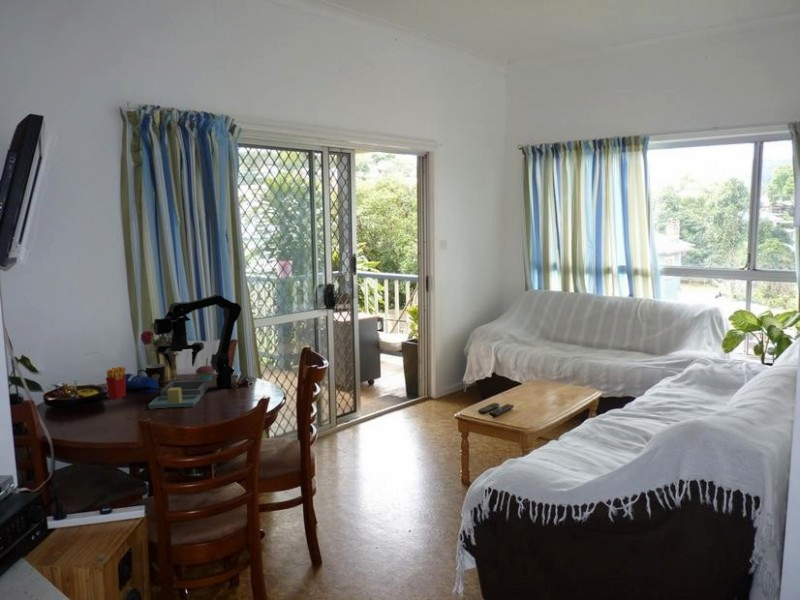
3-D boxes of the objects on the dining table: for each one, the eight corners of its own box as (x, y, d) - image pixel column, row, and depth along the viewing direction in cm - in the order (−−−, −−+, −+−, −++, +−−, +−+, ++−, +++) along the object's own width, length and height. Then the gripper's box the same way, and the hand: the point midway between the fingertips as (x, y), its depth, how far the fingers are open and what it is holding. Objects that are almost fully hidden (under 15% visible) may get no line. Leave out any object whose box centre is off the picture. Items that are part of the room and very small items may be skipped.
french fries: (112, 400, 274) (110, 370, 272) (105, 399, 276) (103, 370, 274) (129, 394, 282) (127, 366, 281) (122, 393, 284) (120, 365, 282)
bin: (209, 387, 291) (208, 379, 291) (200, 397, 274) (200, 389, 274) (171, 388, 290) (170, 381, 290) (160, 399, 273) (159, 391, 273)
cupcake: (218, 379, 306) (217, 354, 305) (206, 383, 299) (205, 358, 297) (204, 377, 310) (203, 353, 308) (192, 381, 302) (190, 357, 301)
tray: (200, 399, 272) (200, 394, 272) (193, 407, 260) (193, 402, 260) (157, 401, 271) (157, 396, 270) (148, 409, 259) (148, 404, 259)
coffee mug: (170, 384, 298) (168, 363, 297) (161, 389, 290) (159, 368, 289) (146, 384, 300) (144, 363, 298) (137, 389, 291) (135, 368, 290)
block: (182, 401, 268) (181, 387, 267) (179, 404, 263) (178, 390, 263) (171, 401, 267) (170, 387, 267) (168, 404, 263) (167, 390, 262)
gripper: (152, 336, 267) (155, 372, 269) (197, 334, 269) (200, 369, 271) (159, 331, 278) (162, 366, 280) (202, 329, 280) (205, 363, 282)
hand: (182, 366), depth 278 cm, fingers open, 9 cm apart
